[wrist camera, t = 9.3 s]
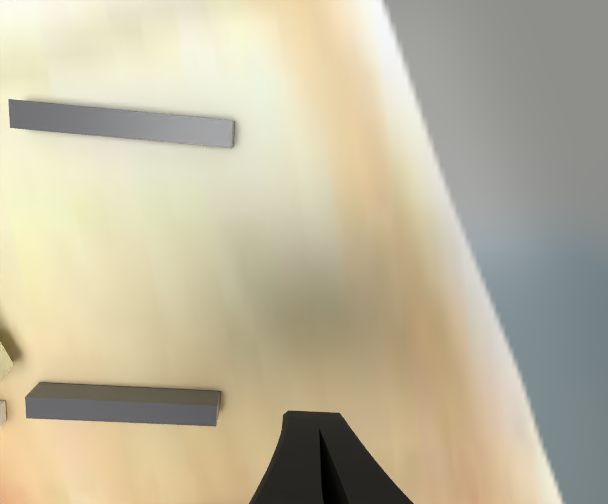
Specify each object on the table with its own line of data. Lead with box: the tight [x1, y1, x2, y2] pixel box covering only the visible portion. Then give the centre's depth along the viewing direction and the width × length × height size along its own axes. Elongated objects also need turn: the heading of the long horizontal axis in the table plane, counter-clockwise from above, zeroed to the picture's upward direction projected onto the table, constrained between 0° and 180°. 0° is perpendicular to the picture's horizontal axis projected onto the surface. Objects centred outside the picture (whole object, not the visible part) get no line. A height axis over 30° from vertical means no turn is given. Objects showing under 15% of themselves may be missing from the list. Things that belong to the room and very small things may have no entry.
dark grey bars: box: [9, 99, 235, 426], centre depth 19 cm, size 13×8×1 cm, turn 175°
